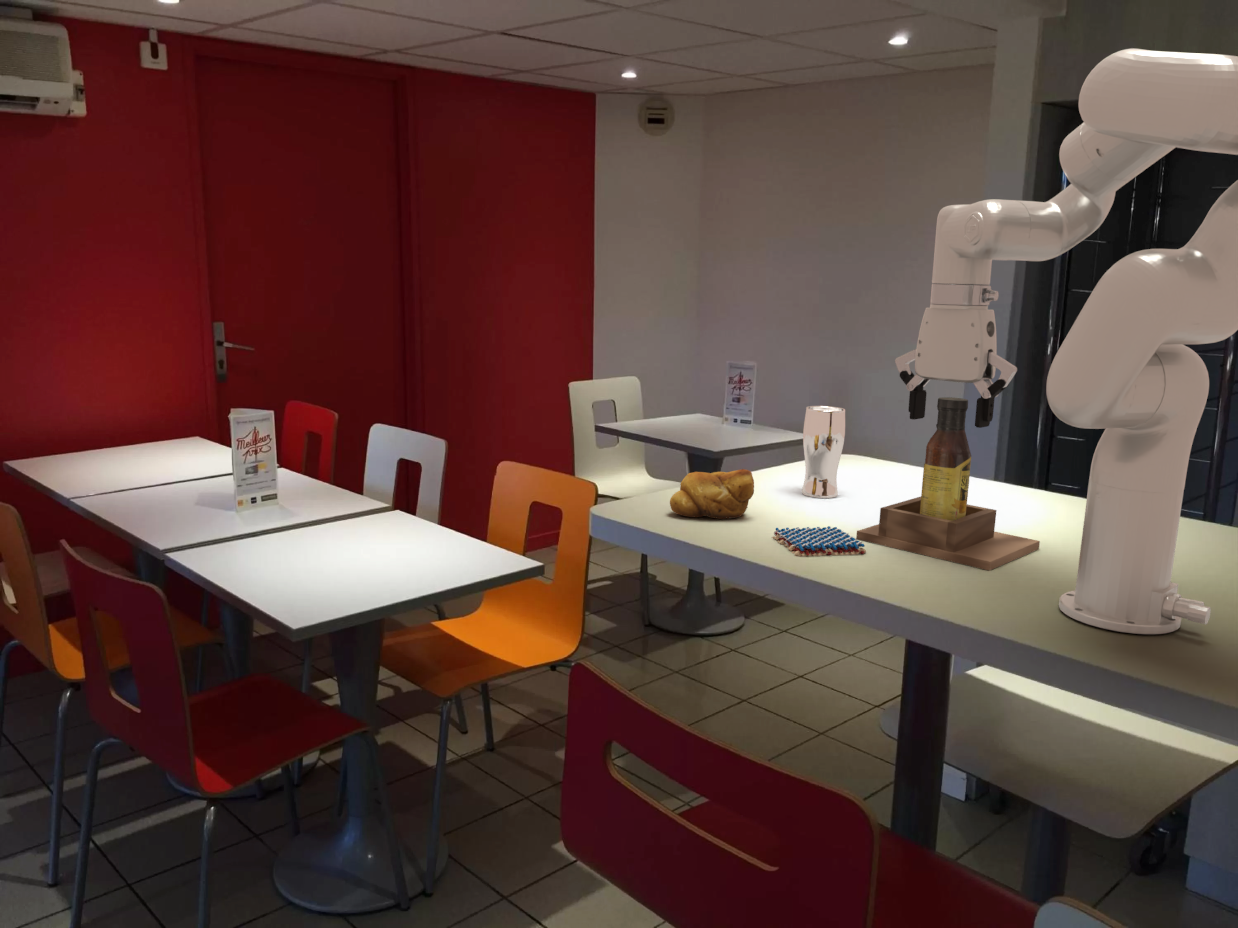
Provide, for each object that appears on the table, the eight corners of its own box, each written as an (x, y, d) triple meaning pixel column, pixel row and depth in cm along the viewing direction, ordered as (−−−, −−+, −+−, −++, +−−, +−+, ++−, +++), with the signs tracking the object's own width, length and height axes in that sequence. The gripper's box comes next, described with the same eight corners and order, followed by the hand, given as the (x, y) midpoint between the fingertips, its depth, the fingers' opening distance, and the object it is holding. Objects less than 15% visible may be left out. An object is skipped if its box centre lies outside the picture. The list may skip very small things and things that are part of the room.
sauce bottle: (966, 544, 140) (981, 403, 136) (919, 540, 141) (933, 400, 137) (959, 533, 147) (974, 397, 143) (915, 529, 148) (928, 394, 144)
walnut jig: (1038, 549, 144) (1042, 513, 143) (989, 570, 132) (993, 532, 131) (910, 521, 157) (913, 489, 156) (856, 538, 146) (859, 503, 145)
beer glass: (791, 491, 176) (796, 406, 173) (824, 488, 179) (830, 405, 176) (814, 500, 170) (821, 412, 167) (848, 497, 173) (855, 410, 170)
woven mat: (836, 537, 148) (837, 524, 148) (868, 558, 138) (869, 544, 138) (769, 539, 146) (769, 526, 146) (796, 560, 136) (797, 546, 136)
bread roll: (673, 522, 153) (675, 470, 151) (663, 507, 162) (665, 458, 161) (756, 522, 154) (759, 471, 153) (741, 507, 164) (744, 458, 162)
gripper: (1033, 300, 134) (1021, 427, 138) (914, 296, 146) (905, 413, 149) (1009, 300, 129) (997, 432, 132) (888, 296, 141) (879, 417, 144)
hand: (948, 422), depth 141 cm, fingers open, 9 cm apart
